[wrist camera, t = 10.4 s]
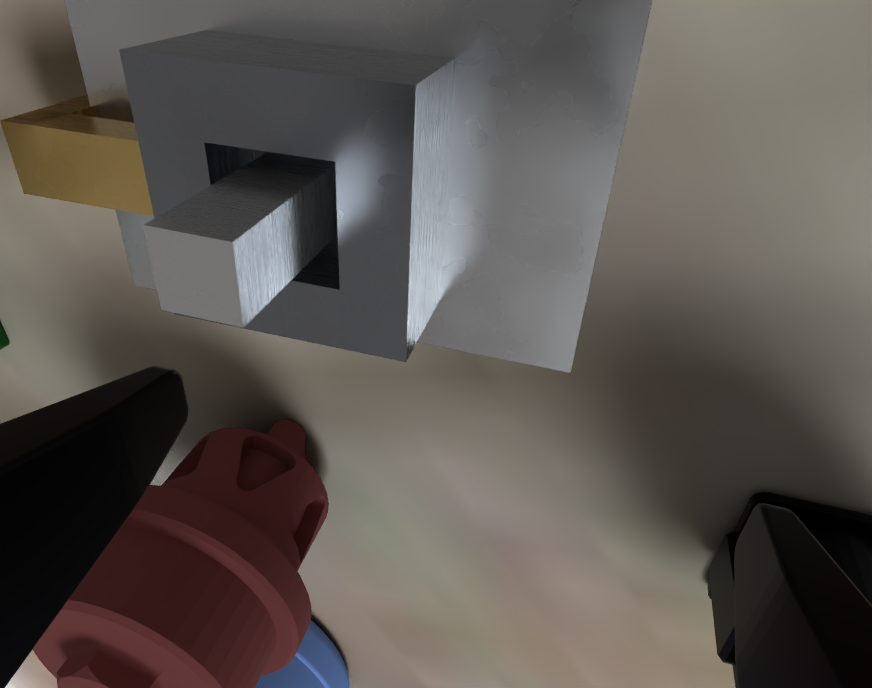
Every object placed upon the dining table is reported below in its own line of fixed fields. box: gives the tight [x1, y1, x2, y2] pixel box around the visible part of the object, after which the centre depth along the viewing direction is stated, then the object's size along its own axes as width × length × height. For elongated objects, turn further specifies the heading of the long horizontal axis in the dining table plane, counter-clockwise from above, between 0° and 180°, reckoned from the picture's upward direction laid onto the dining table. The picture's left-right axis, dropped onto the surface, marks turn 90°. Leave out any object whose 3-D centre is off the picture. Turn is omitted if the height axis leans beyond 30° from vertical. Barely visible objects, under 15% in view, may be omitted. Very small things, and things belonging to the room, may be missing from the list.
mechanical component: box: [33, 419, 329, 688], centre depth 26 cm, size 12×10×10 cm
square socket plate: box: [0, 0, 652, 373], centre depth 20 cm, size 19×12×5 cm, turn 87°
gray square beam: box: [143, 152, 338, 328], centre depth 18 cm, size 2×2×8 cm
